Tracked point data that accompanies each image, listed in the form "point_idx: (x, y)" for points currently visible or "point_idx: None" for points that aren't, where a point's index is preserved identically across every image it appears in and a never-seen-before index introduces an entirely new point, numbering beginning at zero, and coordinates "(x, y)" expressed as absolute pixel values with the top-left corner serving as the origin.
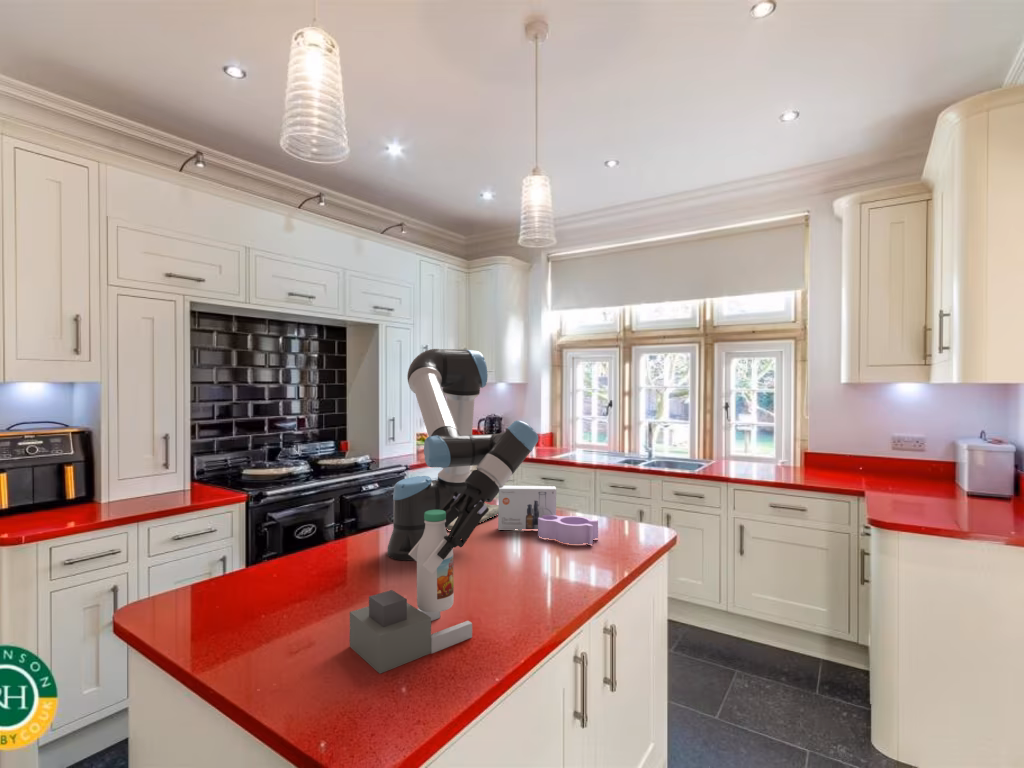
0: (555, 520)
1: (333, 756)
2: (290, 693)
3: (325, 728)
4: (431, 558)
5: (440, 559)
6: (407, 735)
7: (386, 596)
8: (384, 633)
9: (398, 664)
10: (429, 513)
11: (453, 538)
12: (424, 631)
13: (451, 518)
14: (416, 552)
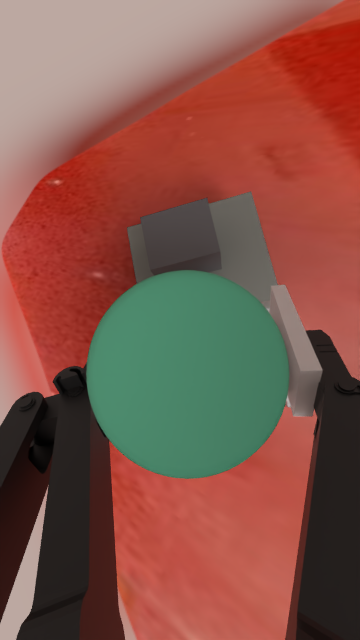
0: None
1: (36, 189)
2: (161, 151)
3: (77, 185)
4: None
5: None
6: (23, 257)
7: (187, 232)
8: (130, 235)
9: None
10: (142, 296)
11: (25, 397)
12: None
13: (298, 559)
14: (274, 312)
